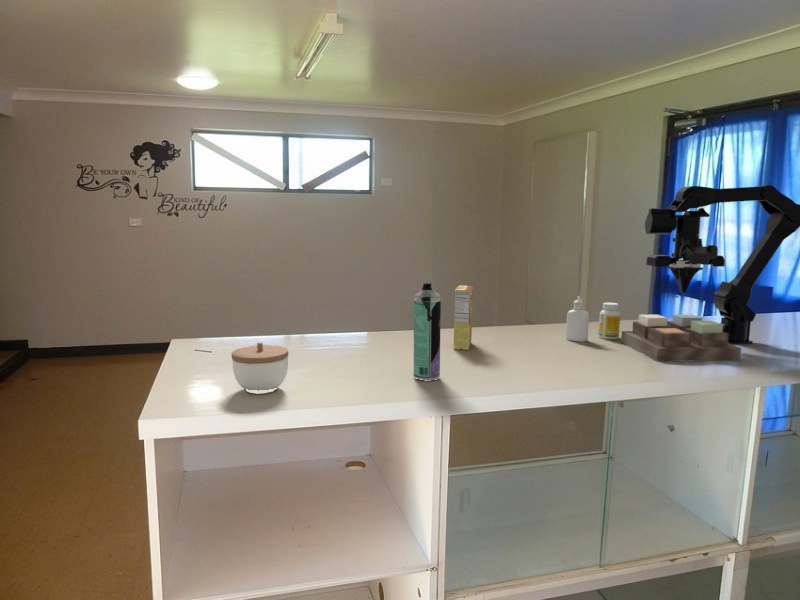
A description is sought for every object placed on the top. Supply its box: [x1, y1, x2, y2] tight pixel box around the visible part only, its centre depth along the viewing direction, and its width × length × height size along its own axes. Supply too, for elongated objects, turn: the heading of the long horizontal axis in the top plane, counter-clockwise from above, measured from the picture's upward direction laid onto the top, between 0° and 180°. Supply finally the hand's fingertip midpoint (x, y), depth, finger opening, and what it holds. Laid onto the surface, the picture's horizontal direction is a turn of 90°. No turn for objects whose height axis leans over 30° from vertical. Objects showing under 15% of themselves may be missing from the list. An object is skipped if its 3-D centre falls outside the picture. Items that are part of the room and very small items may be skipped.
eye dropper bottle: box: [565, 295, 590, 343], centre depth 159 cm, size 4×6×12 cm
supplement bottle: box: [598, 301, 621, 340], centre depth 162 cm, size 5×5×10 cm
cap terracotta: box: [655, 328, 685, 334], centre depth 142 cm, size 5×5×3 cm
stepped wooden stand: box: [620, 320, 742, 362], centre depth 147 cm, size 20×20×6 cm
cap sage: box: [691, 320, 723, 333], centre depth 143 cm, size 5×5×3 cm
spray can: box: [413, 282, 442, 380], centre depth 122 cm, size 6×6×20 cm
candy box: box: [453, 285, 474, 351], centre depth 151 cm, size 9×4×15 cm, turn 169°
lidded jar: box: [231, 341, 289, 391], centre depth 114 cm, size 11×11×9 cm
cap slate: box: [671, 313, 703, 326], centre depth 151 cm, size 5×5×3 cm
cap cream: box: [638, 314, 668, 326], centre depth 151 cm, size 5×5×3 cm
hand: (682, 292), depth 158 cm, fingers closed
